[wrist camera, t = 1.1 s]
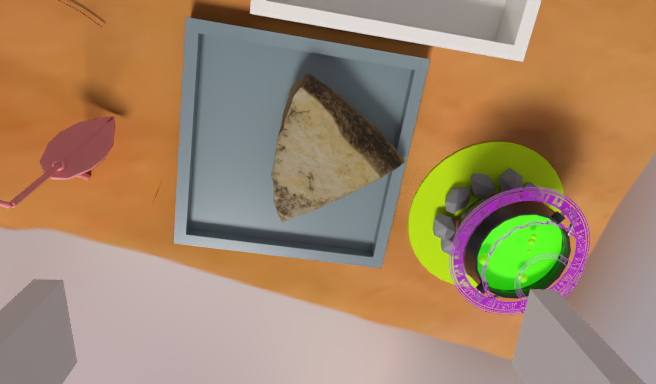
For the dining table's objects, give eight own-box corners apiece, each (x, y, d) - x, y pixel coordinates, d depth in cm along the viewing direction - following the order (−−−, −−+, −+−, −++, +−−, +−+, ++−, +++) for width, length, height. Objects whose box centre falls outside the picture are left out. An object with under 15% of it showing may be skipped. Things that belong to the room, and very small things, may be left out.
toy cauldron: (481, 311, 46) (532, 394, 36) (374, 228, 42) (397, 294, 32) (595, 207, 43) (688, 265, 32) (490, 106, 39) (559, 135, 28)
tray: (178, 235, 41) (173, 243, 40) (190, 17, 35) (185, 17, 33) (378, 260, 43) (381, 268, 42) (425, 58, 37) (430, 59, 35)
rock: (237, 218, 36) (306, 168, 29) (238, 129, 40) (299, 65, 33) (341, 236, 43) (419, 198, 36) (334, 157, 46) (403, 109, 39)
